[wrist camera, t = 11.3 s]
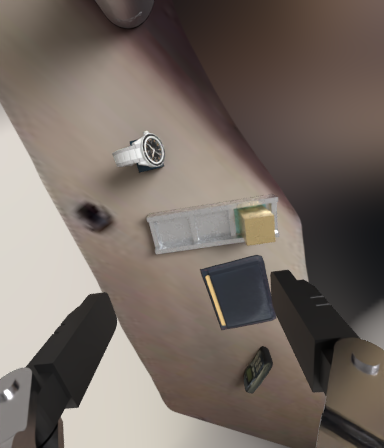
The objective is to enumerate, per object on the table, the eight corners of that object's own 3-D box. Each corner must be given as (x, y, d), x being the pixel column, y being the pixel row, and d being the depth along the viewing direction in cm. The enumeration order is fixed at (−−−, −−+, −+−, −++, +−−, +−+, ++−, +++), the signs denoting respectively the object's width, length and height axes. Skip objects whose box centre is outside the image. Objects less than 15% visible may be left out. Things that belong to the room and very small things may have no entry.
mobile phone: (265, 361, 50) (242, 398, 55) (276, 364, 50) (252, 401, 55) (259, 343, 55) (239, 379, 60) (269, 346, 55) (248, 382, 60)
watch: (173, 163, 40) (164, 167, 29) (135, 173, 40) (113, 180, 30) (165, 133, 38) (152, 126, 27) (126, 144, 39) (99, 141, 28)
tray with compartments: (149, 213, 43) (146, 217, 40) (272, 193, 41) (277, 196, 38) (158, 248, 46) (155, 254, 43) (274, 231, 43) (279, 237, 41)
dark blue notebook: (278, 323, 50) (219, 334, 52) (275, 318, 52) (219, 328, 54) (265, 255, 44) (199, 270, 46) (263, 251, 46) (199, 266, 48)
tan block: (237, 209, 41) (244, 219, 34) (262, 205, 40) (274, 215, 34) (239, 231, 43) (247, 245, 36) (263, 227, 42) (275, 241, 35)
